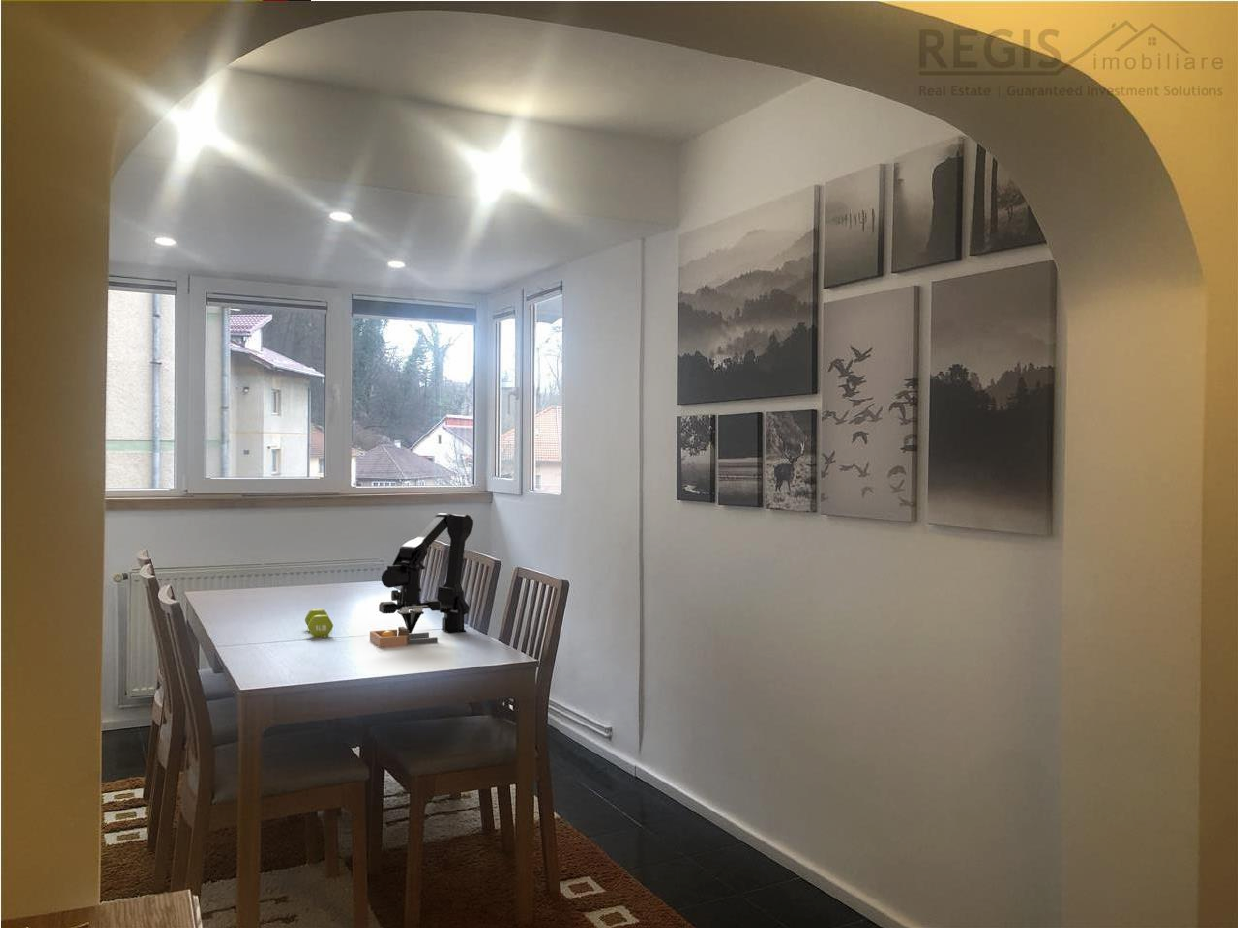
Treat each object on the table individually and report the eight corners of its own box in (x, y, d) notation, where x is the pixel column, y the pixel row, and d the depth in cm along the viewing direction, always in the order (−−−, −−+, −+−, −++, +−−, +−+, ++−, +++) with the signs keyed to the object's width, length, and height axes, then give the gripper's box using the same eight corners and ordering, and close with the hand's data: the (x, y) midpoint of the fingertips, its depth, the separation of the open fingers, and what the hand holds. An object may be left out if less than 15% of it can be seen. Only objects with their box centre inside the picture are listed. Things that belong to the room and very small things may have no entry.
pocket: (396, 638, 305) (396, 629, 305) (407, 645, 295) (407, 635, 295) (369, 640, 301) (370, 631, 301) (379, 647, 290) (380, 638, 290)
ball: (377, 636, 298) (386, 644, 299) (381, 638, 295) (390, 646, 296) (386, 626, 299) (395, 634, 301) (390, 628, 296) (398, 637, 297)
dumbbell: (333, 637, 305) (333, 615, 305) (307, 638, 302) (307, 616, 302) (329, 628, 321) (329, 607, 320) (304, 629, 318) (304, 608, 318)
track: (427, 636, 309) (428, 632, 309) (437, 642, 300) (437, 637, 300) (397, 639, 304) (397, 634, 304) (406, 644, 296) (406, 640, 296)
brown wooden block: (403, 639, 303) (403, 626, 303) (409, 643, 298) (409, 630, 298) (398, 639, 303) (398, 627, 303) (404, 643, 297) (404, 630, 297)
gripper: (431, 579, 312) (430, 627, 313) (375, 582, 303) (374, 630, 303) (442, 584, 303) (441, 632, 303) (384, 586, 294) (383, 637, 294)
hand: (409, 633), depth 301 cm, fingers closed
